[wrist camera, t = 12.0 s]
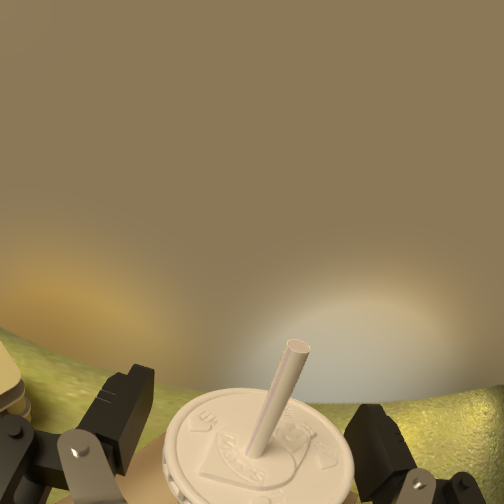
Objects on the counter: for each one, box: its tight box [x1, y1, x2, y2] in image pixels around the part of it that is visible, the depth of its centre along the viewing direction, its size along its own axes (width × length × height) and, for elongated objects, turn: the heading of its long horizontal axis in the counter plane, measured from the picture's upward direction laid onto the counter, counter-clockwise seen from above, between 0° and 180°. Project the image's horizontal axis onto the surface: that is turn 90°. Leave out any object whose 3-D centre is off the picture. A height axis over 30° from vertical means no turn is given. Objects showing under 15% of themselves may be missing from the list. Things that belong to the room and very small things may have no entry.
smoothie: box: [162, 339, 354, 504], centre depth 8 cm, size 6×6×14 cm
